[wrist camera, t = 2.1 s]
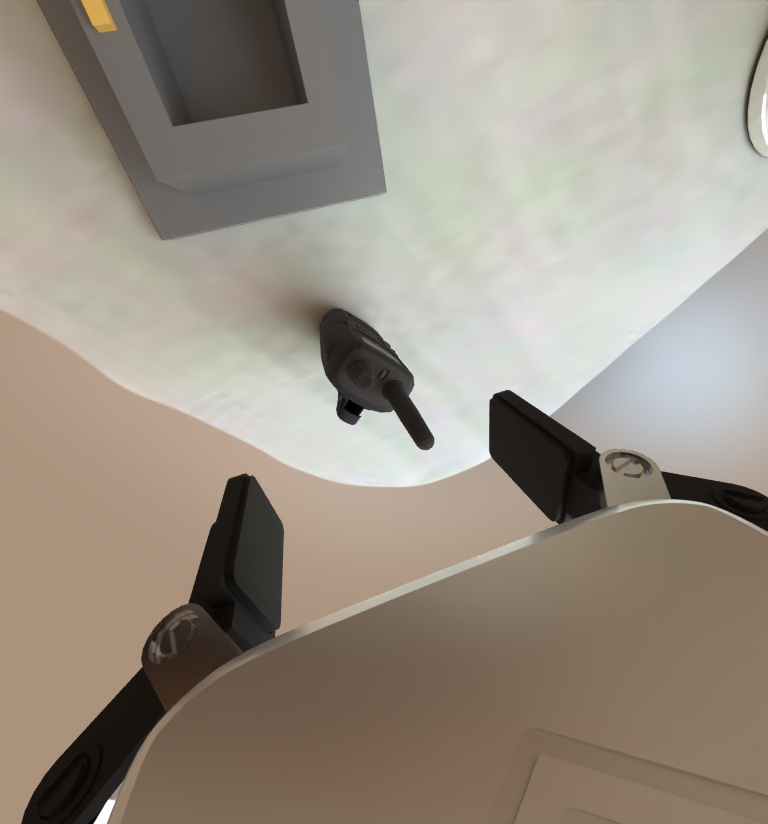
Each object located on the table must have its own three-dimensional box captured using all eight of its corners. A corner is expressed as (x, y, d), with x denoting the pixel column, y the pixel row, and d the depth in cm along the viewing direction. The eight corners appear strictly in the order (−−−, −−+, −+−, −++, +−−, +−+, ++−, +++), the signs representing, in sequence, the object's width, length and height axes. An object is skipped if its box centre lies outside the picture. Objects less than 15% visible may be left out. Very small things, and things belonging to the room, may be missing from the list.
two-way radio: (387, 336, 25) (478, 435, 12) (358, 378, 26) (413, 508, 13) (330, 297, 22) (369, 371, 9) (301, 346, 23) (302, 469, 11)
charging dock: (319, -220, 12) (335, -587, 7) (383, 194, 20) (414, 176, 14) (-57, -200, 11) (-423, -651, 5) (168, 240, 18) (112, 239, 13)
